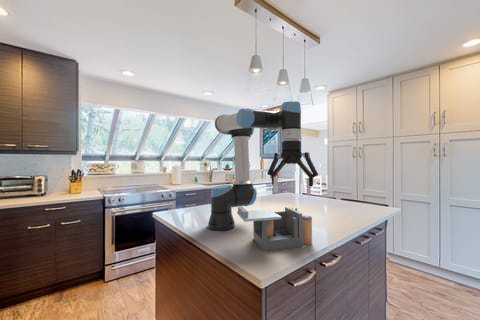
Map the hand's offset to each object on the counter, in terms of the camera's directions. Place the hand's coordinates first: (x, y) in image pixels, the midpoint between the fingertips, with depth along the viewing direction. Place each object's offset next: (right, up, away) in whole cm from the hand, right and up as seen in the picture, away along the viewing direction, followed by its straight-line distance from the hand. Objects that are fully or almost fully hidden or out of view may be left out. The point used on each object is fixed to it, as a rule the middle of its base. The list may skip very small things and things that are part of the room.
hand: (291, 193), depth 87 cm
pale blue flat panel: (-13, -12, +10) cm, 20 cm away
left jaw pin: (-8, -25, +11) cm, 28 cm away
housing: (-4, -25, +12) cm, 28 cm away
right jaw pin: (+10, -24, +11) cm, 29 cm away
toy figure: (+8, -25, +30) cm, 39 cm away
